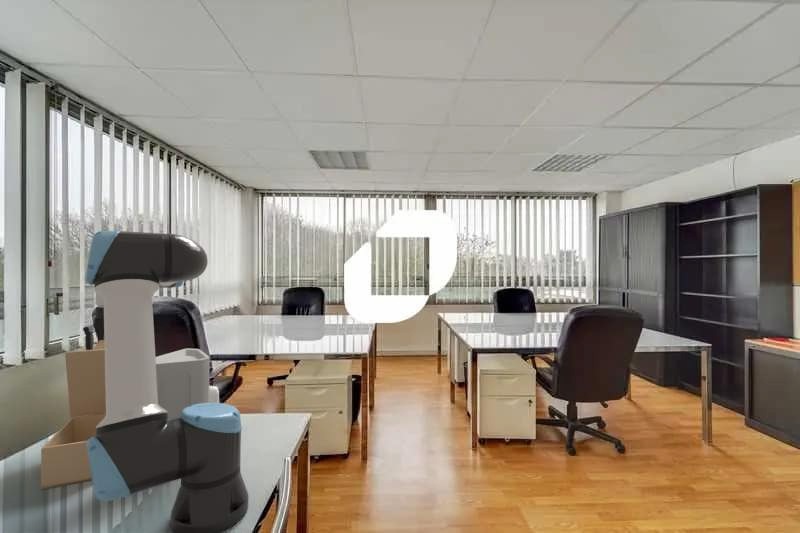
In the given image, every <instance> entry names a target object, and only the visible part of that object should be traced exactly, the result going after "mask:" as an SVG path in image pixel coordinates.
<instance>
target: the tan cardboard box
mask: <svg viewBox="0 0 800 533" xmlns="http://www.w3.org/2000/svg"><path fill="white" fill-rule="evenodd" d="M97 342H98V341H97ZM97 342H96V344H95V346H93V350H86V349H82V350H70V351H69V350H68V351H67V350H66V351H65V352H64V357H65V368H66V380H67V392H68V393H67V394H68V405H69V406H68V407H69V417H70V418H72V417H80V416H88V415H95V414H103V413H106V390H105V341H104V340H99V342H98V343H97Z"/></svg>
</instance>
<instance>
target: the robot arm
mask: <svg viewBox="0 0 800 533" xmlns="http://www.w3.org/2000/svg"><path fill="white" fill-rule="evenodd" d="M88 255H89V256H88V262H87V268H86V272H85V273H86V275H85V283H86V284H89V285H91V286H94V287H93V289H94V294H95V297H94V298H95V300H94V301H95V304H94V305H95V306H96V307H95V309H94V310H95V312H94V314H95V316H94V318H95V319H94V322H93V323H92V324H91V325H86V326H84V327H83V328H82V331H83V333H84V334H85V350H93V349H94V333H93V332H94V330H96V331H98V339H97V342H96V344H97V343H98V342H99V340H104V341H105V390H106V416H105V418H104V419H103V420H102V421H101V422H100V423H99V424H98V425H97V426H96V437H95V436H94V437H91V438H90V439H88V440H87V442H86V445H87V452H88V460H89V466H90V472H91V477H92V481H91V482H92V486H93V491H94V494H95V497H96V499H97V500H99V501H100V502H110V501H113V500H118V499H120V498H121V499H122V498H125V497H131V496H132V495H133V494H137V493H140V492H143V491H144V492H145V490H146V491H147V490H149V489H152V488H156V487H158V486H162V485H164V484H168V483H171V482H174V481H177V480H180V484H179V486H180V487H179V489H178V492H177V493H176V494H177V495H176V498H175V500H174V502H173V506H172V508H171V512H170V529H171V530H172V531H171V532H173V533H221V532H224V531H227V530H228V529H230V528H231V527H233V526H234V525H235V524H237V523H238V522H240V521H241V520H242V518H243V517H244V516H245V515H246V513H247V512H248V509H249V493H248V489H247V487H246V484H245V480H244V479H243V475H242V473H241V472H242V471H241V449H242V448H241V446H242V444H241V443H242V442H241V441H242V439H241V438H242V430H243V428H242V421H241V412H240V411H239V409H237V407H236V406H234V405H232V404H228V403H224V402H222V403H221V402H219V403H200V404H194V405H191V406H189V407H186V408H184V409H183V410H182V413H181V414H180V417H181V418H177V419H173V420H168V413H167V410H165V409H164V408H162V407H160V406H159V404H158V392H157V375H156V358H155V357H156V344H155V326H154V325H155V324H154V311H153V310H154V309H153V308H154V307H153V295H154V294H155V293H157V292H158V291H159V289H164V288H165V289H166V288H167V289H174V288H180V287H182V285H183V283H184V282H188V281H191V280H196V279H197V278H199V277H200V276H201V275H203V273H204V272H205V271H206V269H207V266H208V256H207V253H206V250H204V248H203V247H202V246H201V245H200V244H199V243H198V242H197V241H194V240H193V239H191V238H189V237H186V236H183V235H181V234H175V233H158V232H144V231H143V232H142V231H141V232H140V231H124V230H121V229H119V230H99V231H97V232H96V233H94V234H93V235H92V239H91V243H90V250H89V254H88Z"/></svg>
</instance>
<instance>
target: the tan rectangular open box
mask: <svg viewBox="0 0 800 533" xmlns="http://www.w3.org/2000/svg"><path fill="white" fill-rule="evenodd" d="M105 416H106V413H101V414H93V415H85V416H77V417H70V419H68V421H67V422H66V423H65V424H63V426H62V427H61V428H60V429H59V430H58V431H57V432H56V433H55V434H54V435H53V436H52V437H51V438H50V439H49V440H48V441H47V442H46V443H45V444H44V445H43V446H42V448H41V450H40V453H41V454H40V459H41V460H40V465H41V466H40V490H41V491H43V490H48V489H49V490H50V489H54V488H59V487H64V486H69V485H70V486H71V485H76V484H79V483H80V484H81V483H85V482H86V483H87V482H92V477H91V472H90V466H89V460H88V452H87V445H86V442H87V440H88V439H90V438H91V437H94V436H95V437H96V426H97V425H98V424H99V423H100V422H101V421H102V420H103V419H104V418H105Z"/></svg>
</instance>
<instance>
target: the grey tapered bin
mask: <svg viewBox="0 0 800 533" xmlns="http://www.w3.org/2000/svg"><path fill="white" fill-rule="evenodd" d="M155 358H156V375H157V392H158V404H159V406H160V407H162V408H164V409H165V410H167V413H168V420H173V419H177V418H181V417H180V414H181V413H182V410H183V409H184V408H186V407H189V406H191V405H194V404H200V403H209V386H210V358H211V357H210V356H209V355H207V354H206V353H205V352H204V351H202V350H201V349H200V348H183V349H179V350H176V351H173V352H172V351H171V352H169V353H164V354H162V355H158V356H155Z"/></svg>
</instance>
